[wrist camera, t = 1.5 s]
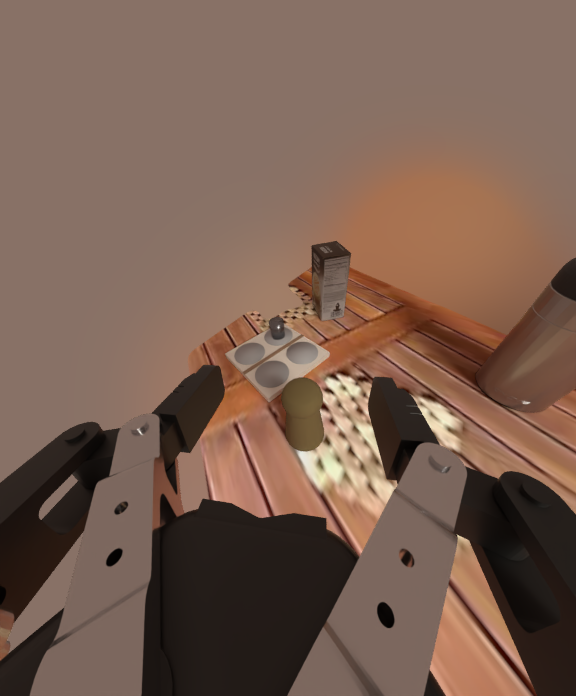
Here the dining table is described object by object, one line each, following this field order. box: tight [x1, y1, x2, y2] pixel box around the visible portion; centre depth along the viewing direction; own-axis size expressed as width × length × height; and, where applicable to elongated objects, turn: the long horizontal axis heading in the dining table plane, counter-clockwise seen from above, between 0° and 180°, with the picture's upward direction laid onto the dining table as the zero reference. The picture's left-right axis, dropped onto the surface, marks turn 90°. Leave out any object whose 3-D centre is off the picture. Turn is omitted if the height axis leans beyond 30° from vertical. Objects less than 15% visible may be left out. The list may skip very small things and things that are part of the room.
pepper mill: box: [281, 377, 324, 451], centre depth 28 cm, size 6×6×11 cm
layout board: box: [225, 324, 330, 402], centre depth 44 cm, size 16×16×1 cm
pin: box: [269, 317, 285, 340], centre depth 46 cm, size 3×3×4 cm
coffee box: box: [312, 241, 351, 321], centre depth 51 cm, size 9×6×16 cm
